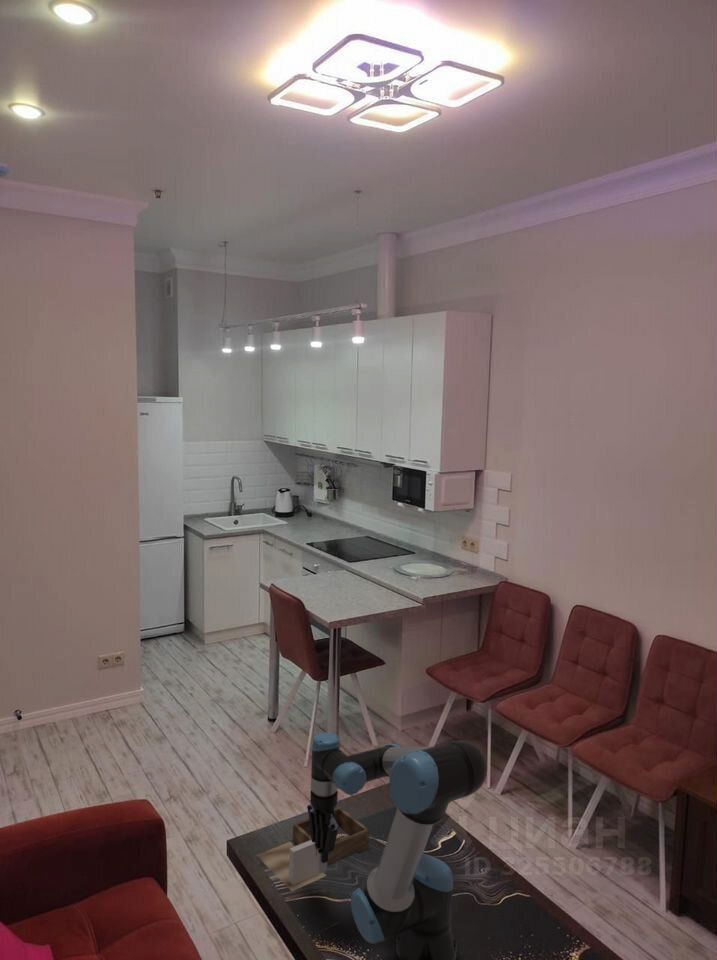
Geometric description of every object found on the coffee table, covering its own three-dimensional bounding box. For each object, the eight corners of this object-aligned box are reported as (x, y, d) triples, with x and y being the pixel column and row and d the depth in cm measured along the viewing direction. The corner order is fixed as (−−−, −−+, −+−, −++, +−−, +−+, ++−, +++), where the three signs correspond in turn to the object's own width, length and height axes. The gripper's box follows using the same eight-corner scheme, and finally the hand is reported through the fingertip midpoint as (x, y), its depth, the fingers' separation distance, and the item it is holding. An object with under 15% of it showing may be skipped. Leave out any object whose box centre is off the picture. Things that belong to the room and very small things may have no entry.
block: (318, 873, 203) (319, 841, 203) (292, 885, 198) (293, 852, 197) (314, 870, 205) (315, 837, 204) (288, 881, 199) (289, 848, 199)
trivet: (326, 877, 203) (326, 875, 203) (291, 893, 195) (291, 891, 195) (289, 843, 218) (289, 841, 218) (256, 857, 211) (256, 855, 211)
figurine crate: (368, 850, 218) (369, 829, 217) (321, 871, 207) (322, 849, 206) (338, 825, 230) (339, 806, 230) (292, 844, 219) (293, 824, 219)
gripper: (349, 796, 189) (346, 878, 191) (321, 776, 200) (319, 854, 201) (326, 804, 185) (323, 888, 187) (300, 783, 195) (297, 863, 197)
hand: (321, 870), depth 194 cm, fingers closed
